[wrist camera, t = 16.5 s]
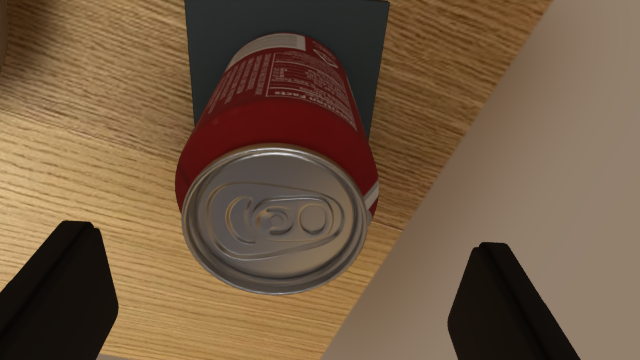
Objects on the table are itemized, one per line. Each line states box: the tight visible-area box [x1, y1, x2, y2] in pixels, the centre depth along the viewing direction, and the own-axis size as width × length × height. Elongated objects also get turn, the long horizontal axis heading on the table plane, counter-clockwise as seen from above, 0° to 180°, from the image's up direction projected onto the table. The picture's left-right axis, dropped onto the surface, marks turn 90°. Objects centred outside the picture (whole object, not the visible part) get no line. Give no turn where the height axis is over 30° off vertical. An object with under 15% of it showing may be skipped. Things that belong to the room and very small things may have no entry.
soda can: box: [175, 32, 379, 295], centre depth 17 cm, size 7×7×12 cm
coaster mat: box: [184, 0, 390, 140], centre depth 23 cm, size 10×10×1 cm
